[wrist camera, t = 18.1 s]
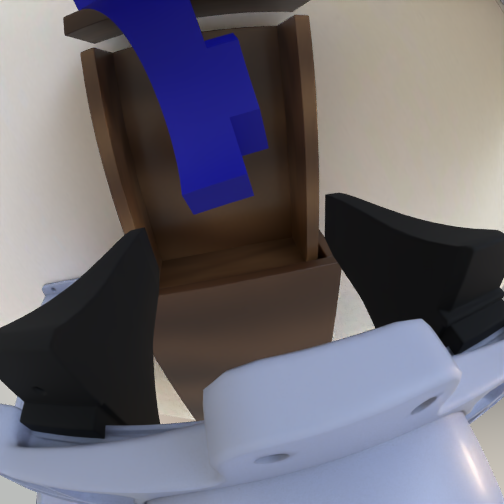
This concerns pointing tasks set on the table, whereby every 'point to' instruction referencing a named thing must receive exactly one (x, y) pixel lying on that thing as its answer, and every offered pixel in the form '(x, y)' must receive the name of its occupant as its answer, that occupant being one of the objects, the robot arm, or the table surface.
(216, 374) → the cabinet
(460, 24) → the table surface
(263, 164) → the drawer
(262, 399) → the robot arm
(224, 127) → the blue stepped block
